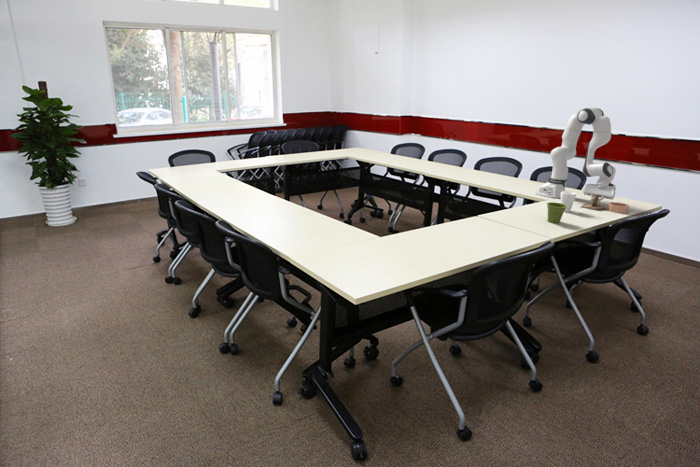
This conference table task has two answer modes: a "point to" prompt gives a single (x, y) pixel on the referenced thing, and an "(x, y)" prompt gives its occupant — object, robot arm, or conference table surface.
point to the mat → (591, 209)
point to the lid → (594, 204)
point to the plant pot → (555, 211)
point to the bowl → (617, 207)
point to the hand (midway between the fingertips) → (595, 201)
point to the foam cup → (567, 199)
